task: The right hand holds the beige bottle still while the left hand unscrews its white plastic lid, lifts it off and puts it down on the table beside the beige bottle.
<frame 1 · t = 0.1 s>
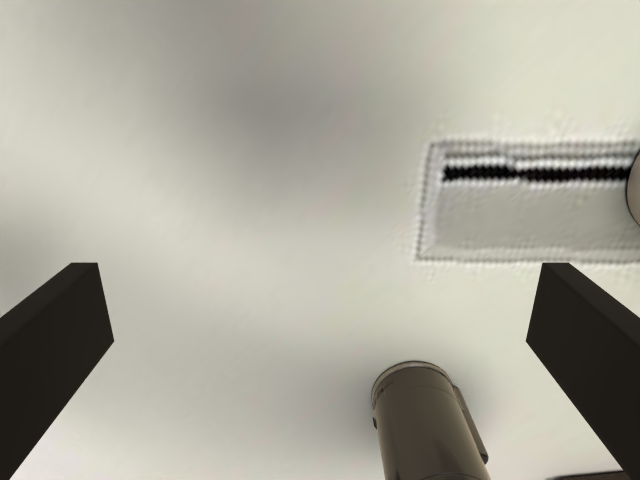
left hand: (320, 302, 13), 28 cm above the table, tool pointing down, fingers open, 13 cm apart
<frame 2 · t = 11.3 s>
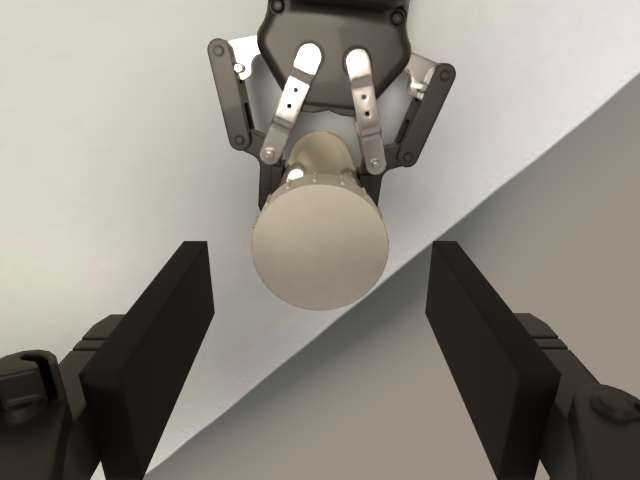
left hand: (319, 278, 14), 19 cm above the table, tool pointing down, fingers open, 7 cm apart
right hand: (316, 222, 28), fingers closed on beige bottle, 4 cm apart
lid: (319, 247, 17), point 17 cm above the table, screwed on, not yet turned
beige bottle: (320, 162, 32), on the table, touching right hand
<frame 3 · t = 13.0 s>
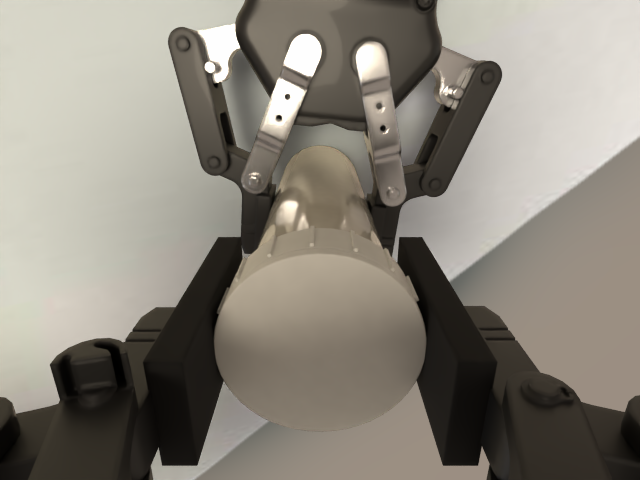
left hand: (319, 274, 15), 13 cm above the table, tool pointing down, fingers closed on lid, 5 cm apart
right hand: (315, 263, 22), fingers closed on beige bottle, 4 cm apart
lid: (320, 343, 11), point 17 cm above the table, screwed on, not yet turned, touching left hand
beige bottle: (320, 183, 26), on the table, touching right hand
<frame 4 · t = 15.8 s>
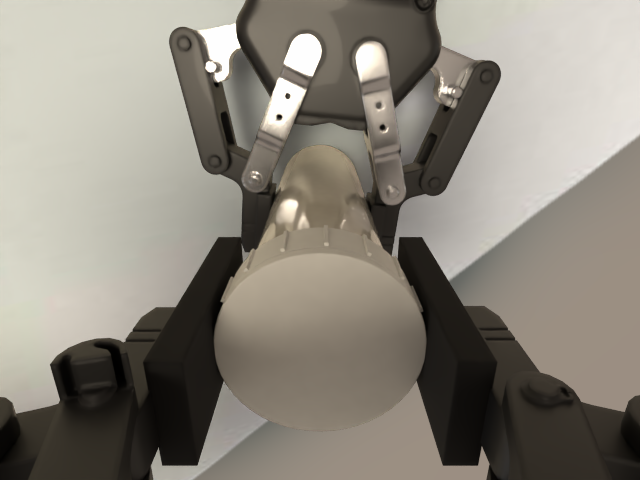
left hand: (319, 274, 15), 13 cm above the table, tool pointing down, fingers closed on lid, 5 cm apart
right hand: (315, 261, 22), fingers closed on beige bottle, 4 cm apart
lid: (320, 342, 11), point 17 cm above the table, turned 60° so far, risen 0.1 cm, still on its thread, touching left hand
beige bottle: (320, 182, 26), on the table, touching right hand
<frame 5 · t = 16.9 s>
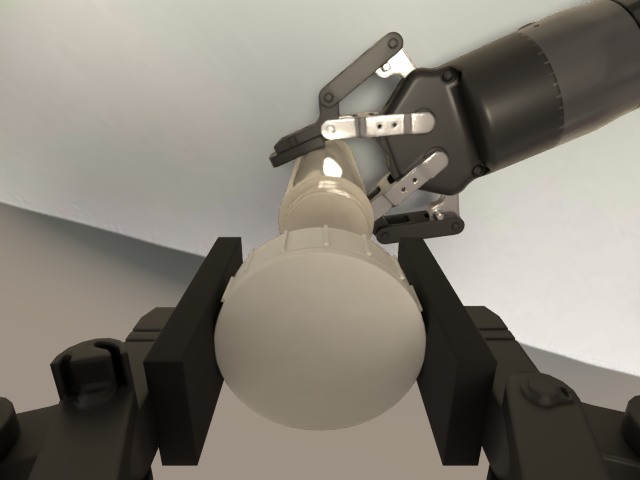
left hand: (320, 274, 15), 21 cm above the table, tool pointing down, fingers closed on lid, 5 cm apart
right hand: (290, 195, 29), fingers closed on beige bottle, 4 cm apart
lid: (320, 342, 11), point 25 cm above the table, off its thread, touching left hand
beige bottle: (325, 163, 34), on the table, touching right hand
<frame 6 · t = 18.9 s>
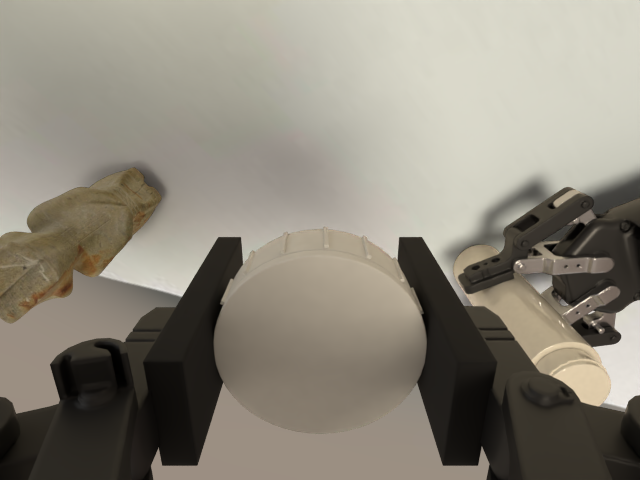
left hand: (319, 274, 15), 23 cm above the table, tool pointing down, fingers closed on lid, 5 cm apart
lid: (320, 344, 11), point 27 cm above the table, off its thread, touching left hand
sculpture: (129, 199, 37), on the table
beige bottle: (478, 267, 40), on the table, touching right hand
when the left hand's fingers open (0 cm above the table, at t = 22.0 s): lid drops 3 cm, point 1 cm above the table.
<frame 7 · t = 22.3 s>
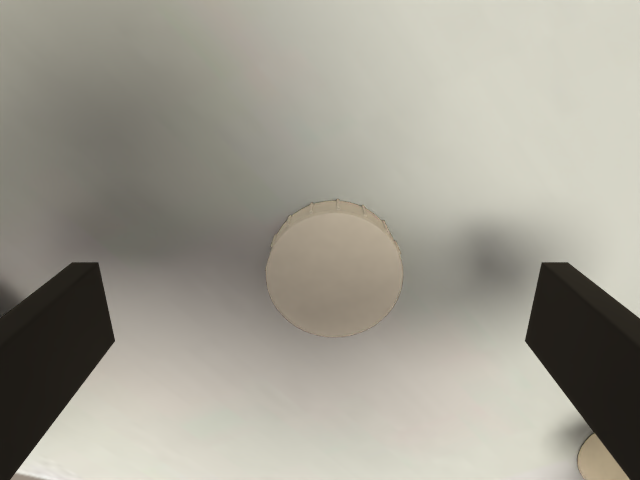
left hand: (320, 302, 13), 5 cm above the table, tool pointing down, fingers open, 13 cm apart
lid: (334, 274, 17), point 1 cm above the table, off its thread
beige bottle: (624, 454, 22), on the table, touching right hand
when the right hand's fingers open (6 cm above the table, at t = 22.6 s): beige bottle stays where it is, on the table.
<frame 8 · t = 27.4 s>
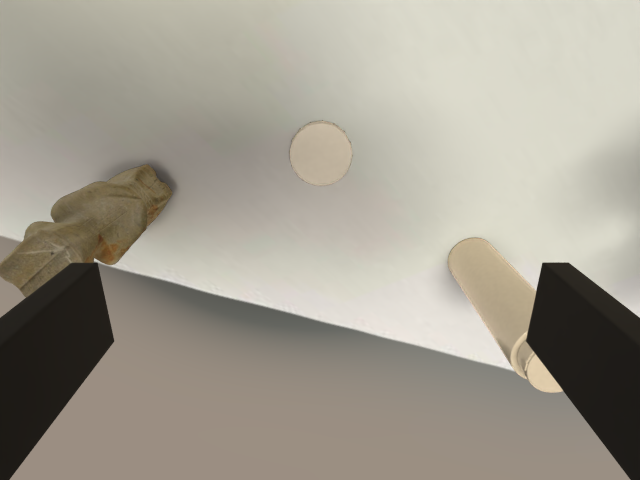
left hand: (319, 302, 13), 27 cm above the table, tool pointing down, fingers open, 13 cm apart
lid: (320, 154, 37), point 1 cm above the table, off its thread
sculpture: (141, 194, 39), on the table
beige bottle: (471, 259, 42), on the table
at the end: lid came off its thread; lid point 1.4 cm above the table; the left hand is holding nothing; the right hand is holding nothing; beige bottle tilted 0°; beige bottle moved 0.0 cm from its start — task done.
